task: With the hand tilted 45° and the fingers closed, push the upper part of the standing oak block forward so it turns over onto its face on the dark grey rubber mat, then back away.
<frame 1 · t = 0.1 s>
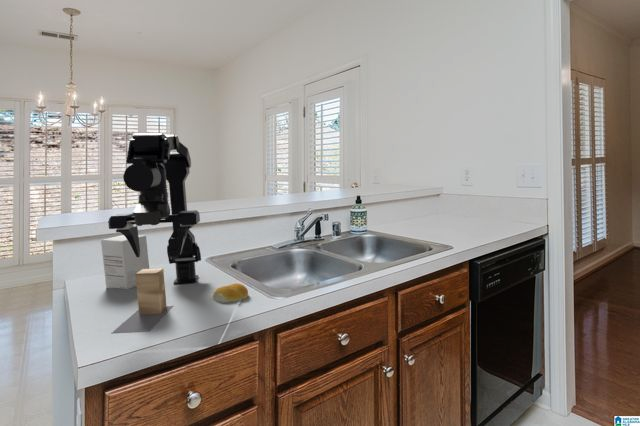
hand: (159, 255, 86), 15 cm above the worktop, tool pointing down, fingers open, 9 cm apart
mat: (145, 320, 85), on the worktop
oak block: (153, 310, 90), resting on mat
bread roll: (230, 299, 98), on the worktop
supplement box: (128, 285, 113), on the worktop
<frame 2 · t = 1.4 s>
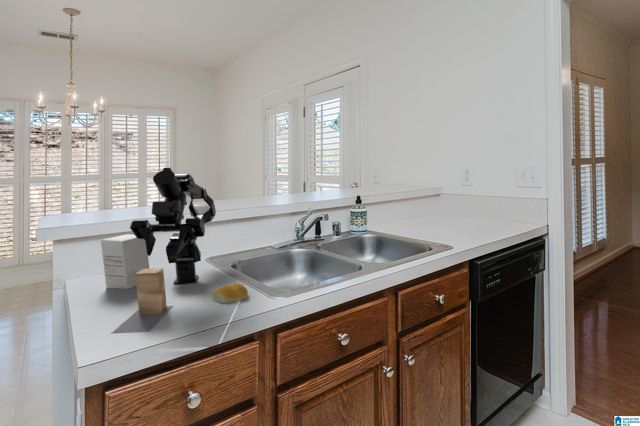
hand: (162, 254, 97), 12 cm above the worktop, tool tilted 45°, fingers open, 7 cm apart
nothing on the worktop moved.
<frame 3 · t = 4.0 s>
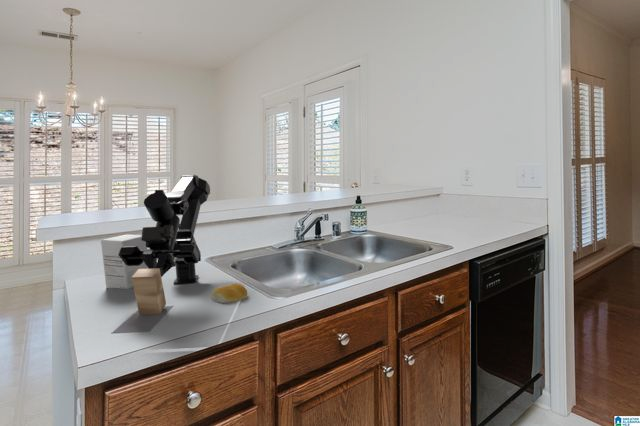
hand: (152, 284, 90), 7 cm above the worktop, tool tilted 45°, fingers closed, pressing on oak block
oak block: (152, 308, 90), point 1 cm above the worktop, tilted 12°, touching gripper, mat
everything else where it was.
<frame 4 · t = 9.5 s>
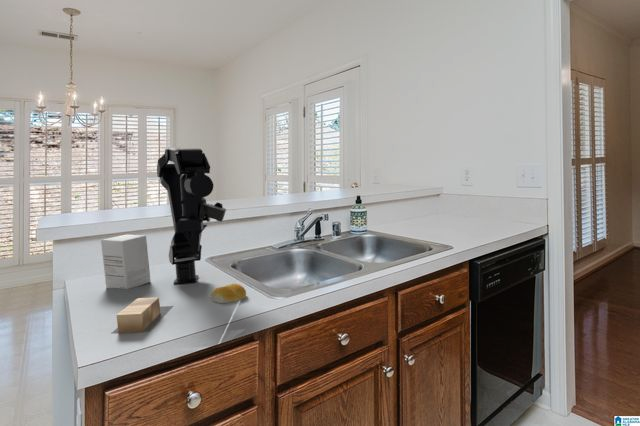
hand: (196, 251, 101), 12 cm above the worktop, tool pointing down, fingers closed
oak block: (149, 305, 88), point 2 cm above the worktop, tilted 90°, touching mat
everything else where it was.
at the end: oak block tilted 90°; oak block 2.7 cm from the mat (horizontally); oak block point 2.5 cm above the worktop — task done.
